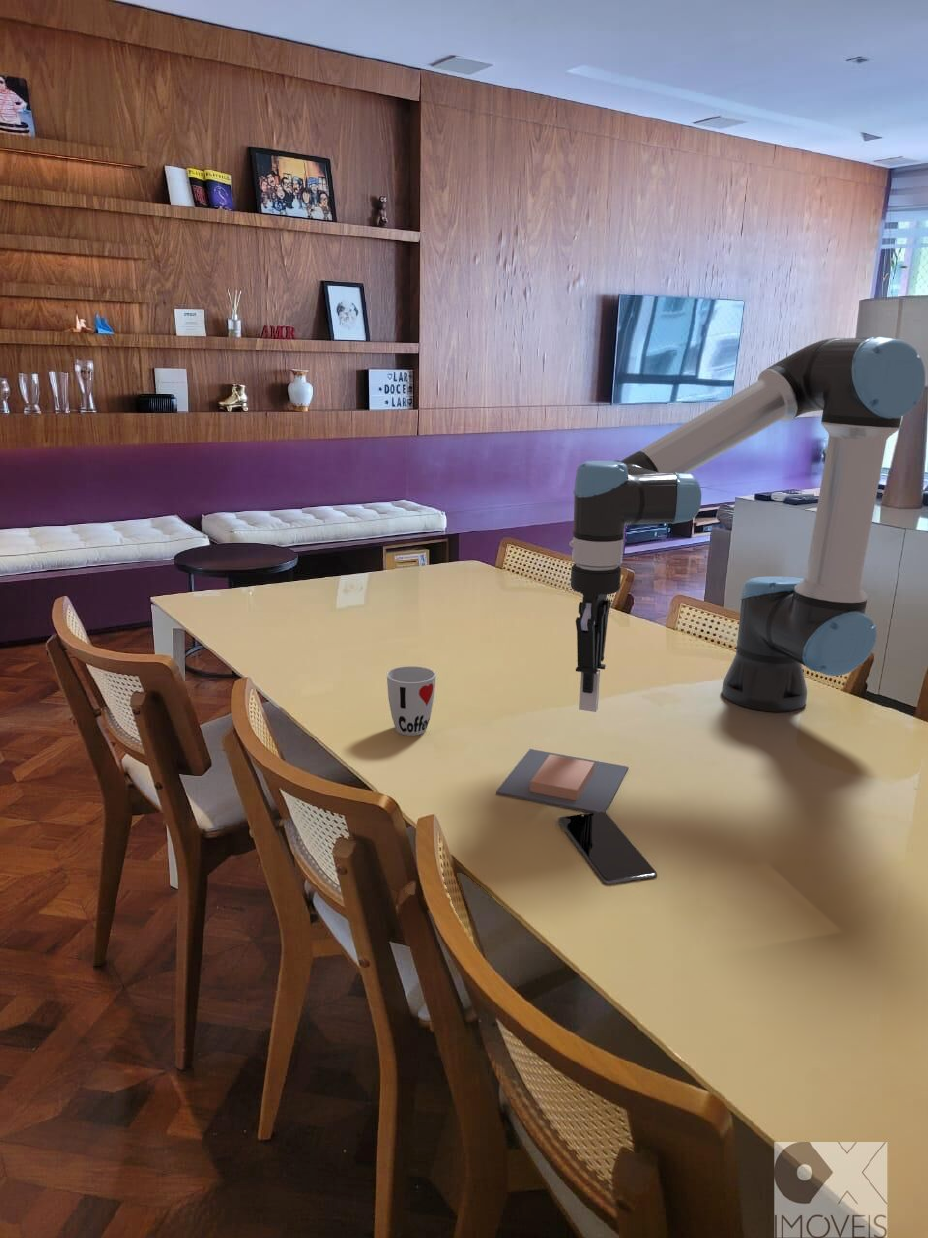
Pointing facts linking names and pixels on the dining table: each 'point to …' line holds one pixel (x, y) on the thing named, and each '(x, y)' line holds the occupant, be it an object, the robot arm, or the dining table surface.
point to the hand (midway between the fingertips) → (588, 709)
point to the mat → (590, 800)
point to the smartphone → (606, 848)
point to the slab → (562, 777)
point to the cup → (411, 698)
